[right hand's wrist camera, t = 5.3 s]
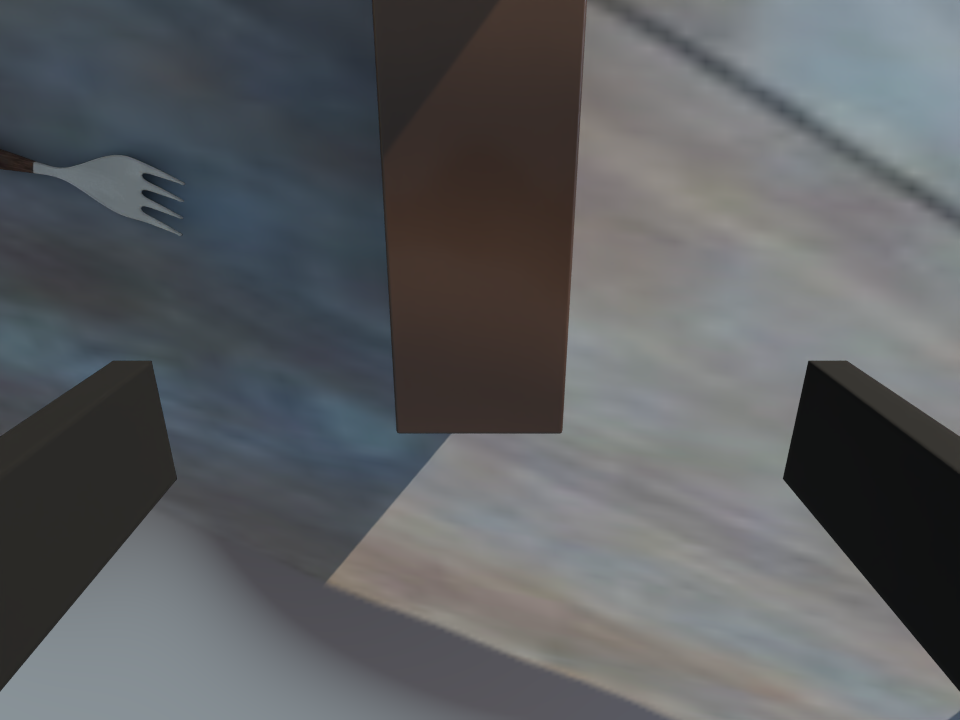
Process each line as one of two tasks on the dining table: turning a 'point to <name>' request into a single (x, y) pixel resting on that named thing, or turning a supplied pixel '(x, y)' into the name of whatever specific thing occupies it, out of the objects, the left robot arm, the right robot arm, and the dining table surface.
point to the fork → (106, 183)
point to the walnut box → (479, 207)
